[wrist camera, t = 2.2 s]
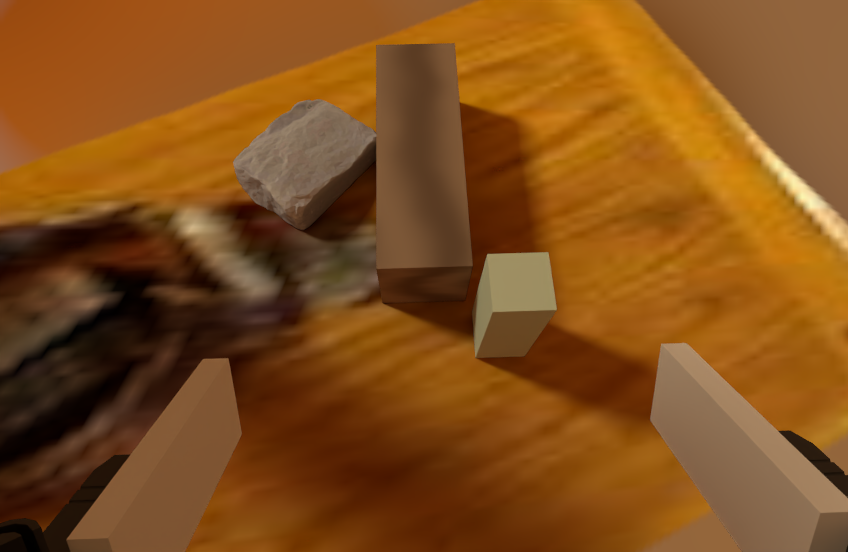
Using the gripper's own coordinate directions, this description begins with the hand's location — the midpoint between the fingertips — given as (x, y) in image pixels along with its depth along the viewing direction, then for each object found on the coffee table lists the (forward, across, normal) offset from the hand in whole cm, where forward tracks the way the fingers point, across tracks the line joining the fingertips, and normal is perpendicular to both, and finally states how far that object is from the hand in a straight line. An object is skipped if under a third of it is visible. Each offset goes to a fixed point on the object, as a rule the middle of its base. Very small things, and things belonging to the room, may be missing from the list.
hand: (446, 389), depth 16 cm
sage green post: (+25, +6, -11) cm, 28 cm away
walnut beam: (+35, 0, -1) cm, 35 cm away
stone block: (+37, -11, +1) cm, 39 cm away
